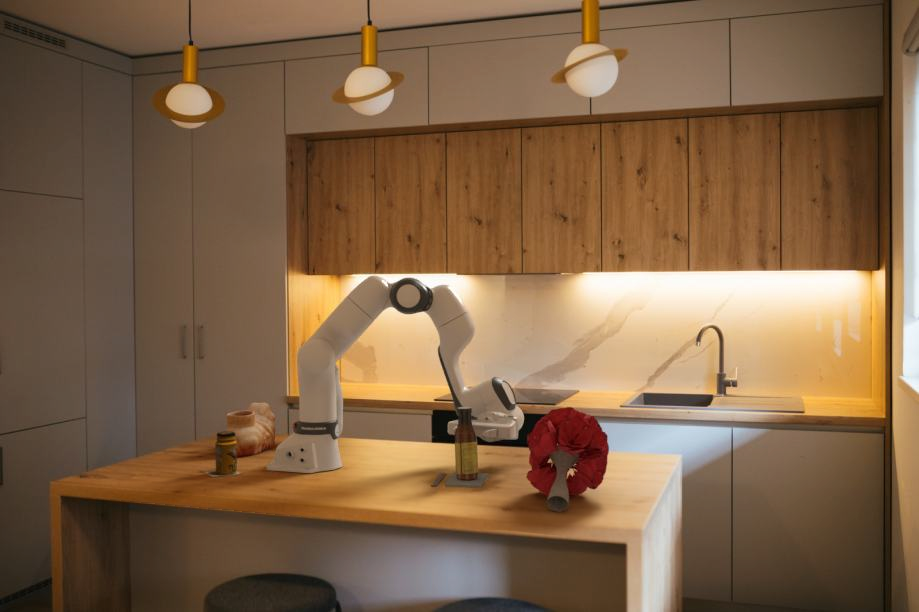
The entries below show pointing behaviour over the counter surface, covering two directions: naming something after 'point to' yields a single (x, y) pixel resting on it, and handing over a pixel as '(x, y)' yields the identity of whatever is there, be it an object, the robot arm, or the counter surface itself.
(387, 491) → the counter surface
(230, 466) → the condiment
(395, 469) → the counter surface
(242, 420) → the ceramic vessel
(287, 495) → the counter surface
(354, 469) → the counter surface
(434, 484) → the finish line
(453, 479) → the mat
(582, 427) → the bouquet
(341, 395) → the glass bottle
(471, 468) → the sauce bottle
